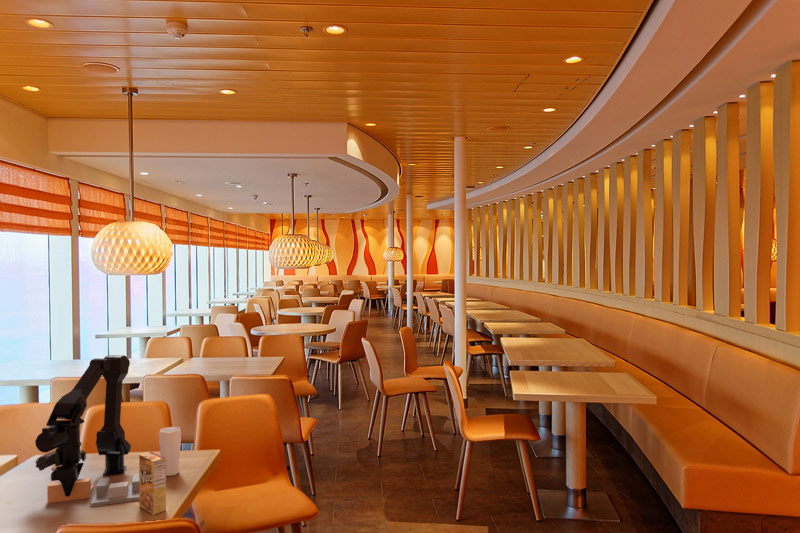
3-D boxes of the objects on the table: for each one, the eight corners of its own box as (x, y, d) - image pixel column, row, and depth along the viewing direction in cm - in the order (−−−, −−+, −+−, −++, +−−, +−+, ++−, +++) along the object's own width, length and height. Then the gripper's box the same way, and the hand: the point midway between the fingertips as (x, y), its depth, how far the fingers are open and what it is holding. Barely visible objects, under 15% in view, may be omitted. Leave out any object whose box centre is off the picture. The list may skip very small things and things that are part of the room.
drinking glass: (173, 478, 189) (173, 433, 189) (155, 476, 190) (154, 431, 190) (185, 470, 195) (184, 427, 195) (167, 469, 197) (167, 426, 197)
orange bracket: (53, 492, 177) (53, 476, 177) (93, 488, 181) (93, 472, 181) (47, 503, 169) (47, 486, 169) (89, 497, 173) (89, 481, 173)
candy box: (138, 506, 166) (137, 454, 166) (152, 502, 170) (152, 450, 170) (153, 515, 161) (152, 461, 161) (167, 510, 164) (167, 457, 164)
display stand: (97, 491, 178) (96, 478, 178) (146, 485, 183) (145, 472, 183) (90, 506, 167) (90, 493, 167) (142, 499, 171) (142, 486, 171)
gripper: (45, 435, 179) (46, 485, 179) (30, 454, 161) (30, 509, 161) (86, 432, 183) (86, 480, 183) (74, 449, 165) (75, 503, 165)
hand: (69, 493), depth 173 cm, fingers open, 5 cm apart
